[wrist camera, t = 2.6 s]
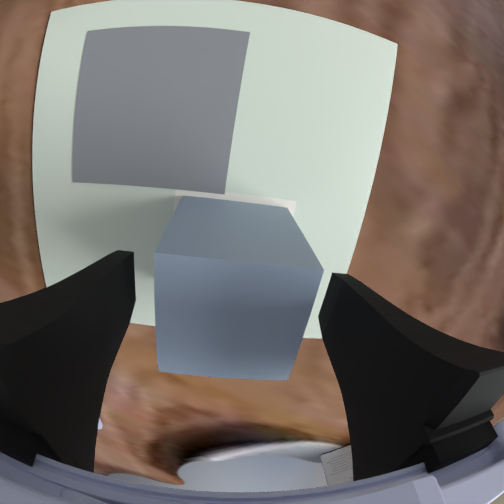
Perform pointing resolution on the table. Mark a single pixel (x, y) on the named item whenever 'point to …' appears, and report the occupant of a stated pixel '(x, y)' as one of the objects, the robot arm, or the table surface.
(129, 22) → the mat
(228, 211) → the blue-grey rectangular block
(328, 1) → the table surface
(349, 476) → the skincare box
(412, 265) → the table surface
